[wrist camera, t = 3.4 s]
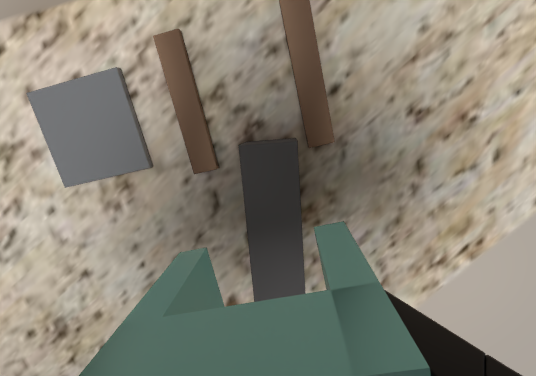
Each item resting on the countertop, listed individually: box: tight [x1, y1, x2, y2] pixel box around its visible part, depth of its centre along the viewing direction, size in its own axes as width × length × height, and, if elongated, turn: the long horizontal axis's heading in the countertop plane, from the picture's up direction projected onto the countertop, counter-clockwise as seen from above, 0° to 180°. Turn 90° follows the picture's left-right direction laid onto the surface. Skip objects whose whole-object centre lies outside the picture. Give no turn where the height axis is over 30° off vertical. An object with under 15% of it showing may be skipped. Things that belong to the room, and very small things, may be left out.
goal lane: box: [153, 0, 335, 174], centre depth 16 cm, size 9×8×1 cm
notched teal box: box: [79, 221, 431, 376], centre depth 7 cm, size 6×4×6 cm
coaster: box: [27, 67, 153, 188], centre depth 17 cm, size 6×6×1 cm
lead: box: [239, 138, 305, 302], centre depth 16 cm, size 3×10×3 cm, turn 4°
